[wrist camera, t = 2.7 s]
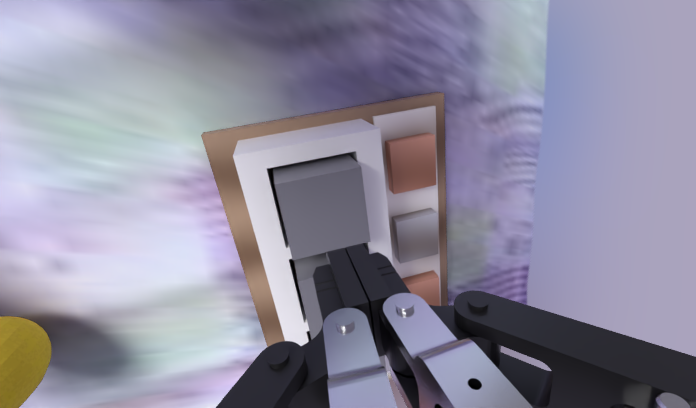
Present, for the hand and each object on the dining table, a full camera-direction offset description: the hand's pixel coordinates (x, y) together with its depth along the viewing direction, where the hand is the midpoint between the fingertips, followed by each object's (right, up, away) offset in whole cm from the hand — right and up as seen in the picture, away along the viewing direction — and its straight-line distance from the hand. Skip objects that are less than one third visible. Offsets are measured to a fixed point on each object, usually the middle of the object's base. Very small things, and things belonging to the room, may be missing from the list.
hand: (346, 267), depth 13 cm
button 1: (-2, +3, +8) cm, 9 cm away
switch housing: (-2, -1, +13) cm, 13 cm away
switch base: (0, 0, +13) cm, 13 cm away
